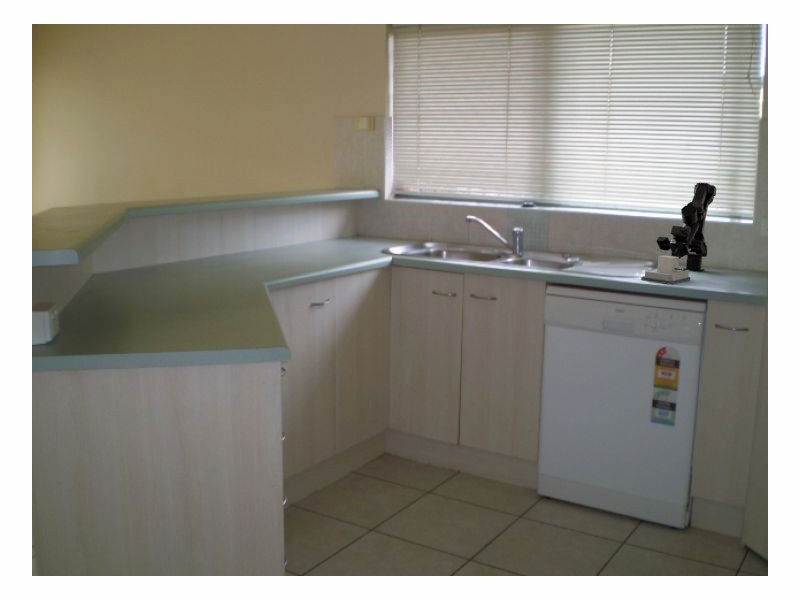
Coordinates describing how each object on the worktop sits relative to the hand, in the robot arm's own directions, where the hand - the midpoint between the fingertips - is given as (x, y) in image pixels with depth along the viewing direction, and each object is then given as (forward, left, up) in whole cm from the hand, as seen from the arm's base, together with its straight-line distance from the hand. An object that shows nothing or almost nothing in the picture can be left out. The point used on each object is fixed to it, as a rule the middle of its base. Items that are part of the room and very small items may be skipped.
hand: (671, 261), depth 350 cm
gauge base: (+4, 0, -7) cm, 8 cm away
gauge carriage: (+3, +2, -5) cm, 6 cm away
